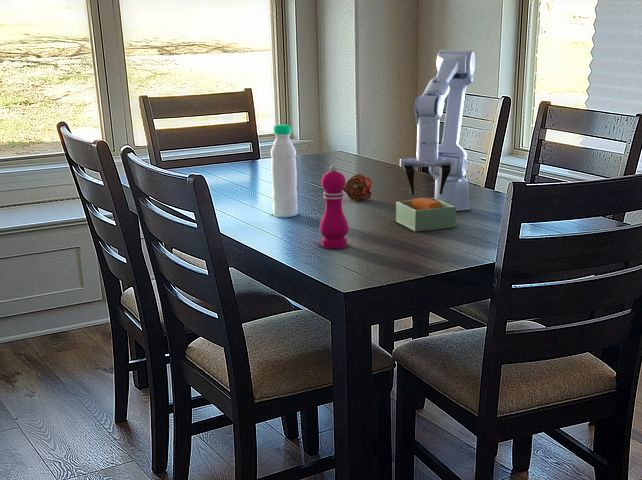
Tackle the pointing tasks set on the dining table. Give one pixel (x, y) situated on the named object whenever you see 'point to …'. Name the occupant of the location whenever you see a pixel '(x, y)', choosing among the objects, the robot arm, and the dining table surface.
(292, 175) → the water bottle
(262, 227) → the dining table surface
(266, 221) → the dining table surface
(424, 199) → the orange rectangular block
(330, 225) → the pepper mill
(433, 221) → the open green box
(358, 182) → the brown rough oval
